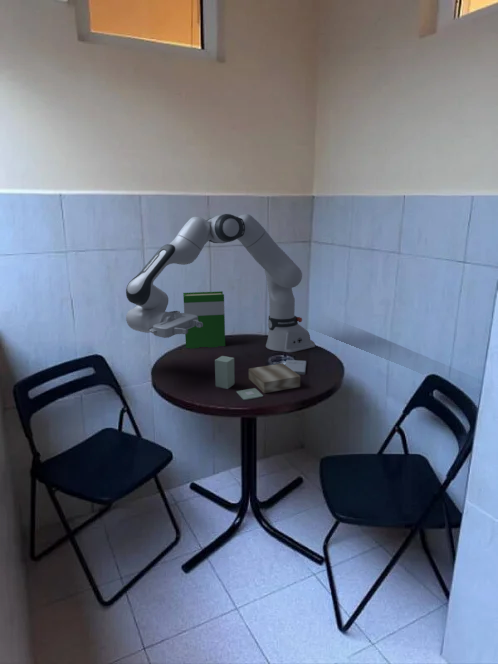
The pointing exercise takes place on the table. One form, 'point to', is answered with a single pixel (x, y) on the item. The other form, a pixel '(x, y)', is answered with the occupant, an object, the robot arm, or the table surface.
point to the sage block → (224, 372)
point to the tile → (249, 394)
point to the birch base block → (274, 378)
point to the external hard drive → (296, 366)
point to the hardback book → (205, 319)
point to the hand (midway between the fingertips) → (194, 328)
